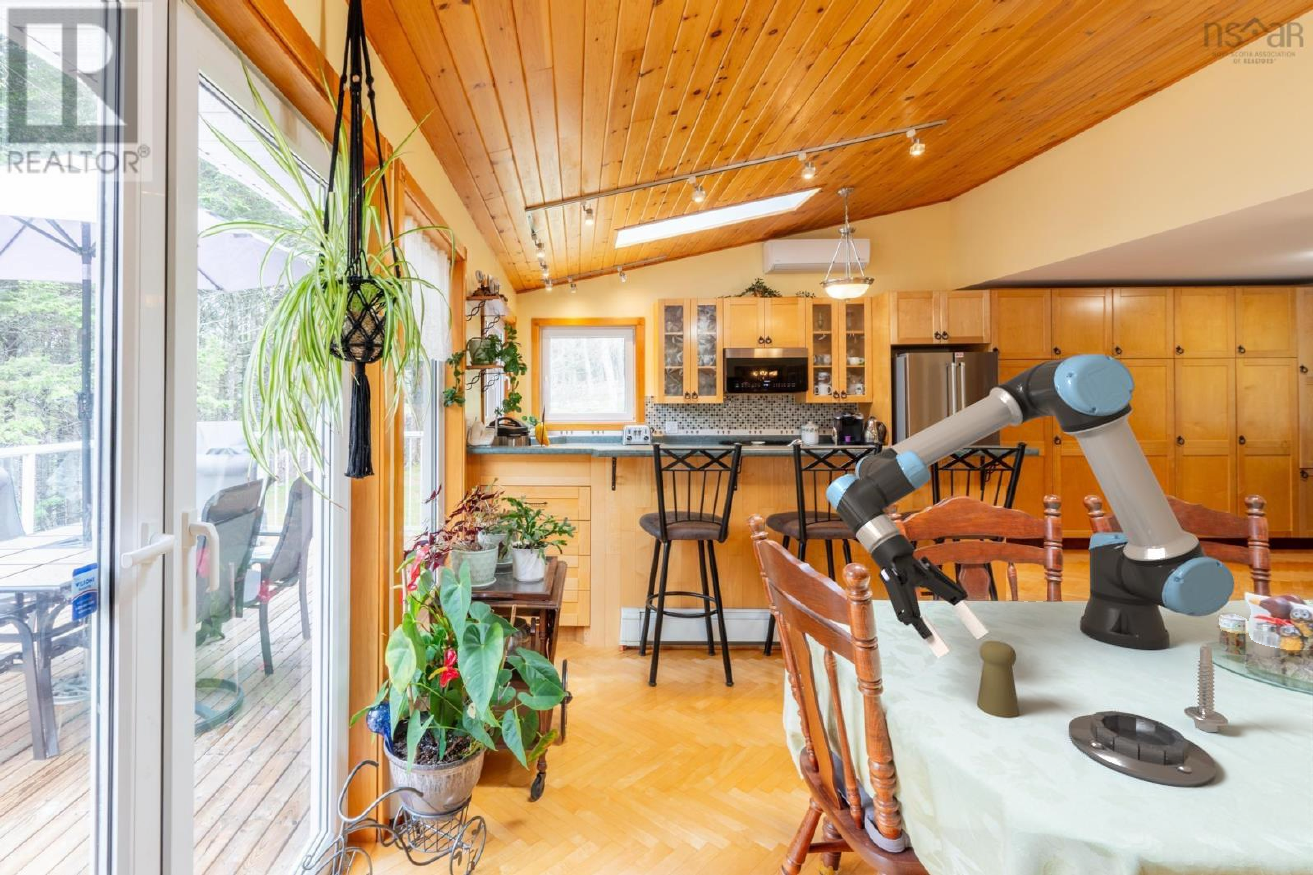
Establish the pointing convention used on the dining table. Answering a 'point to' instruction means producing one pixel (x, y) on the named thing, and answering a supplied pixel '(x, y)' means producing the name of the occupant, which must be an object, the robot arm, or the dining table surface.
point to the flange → (1142, 749)
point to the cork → (998, 680)
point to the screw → (1206, 696)
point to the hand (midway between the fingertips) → (965, 644)
